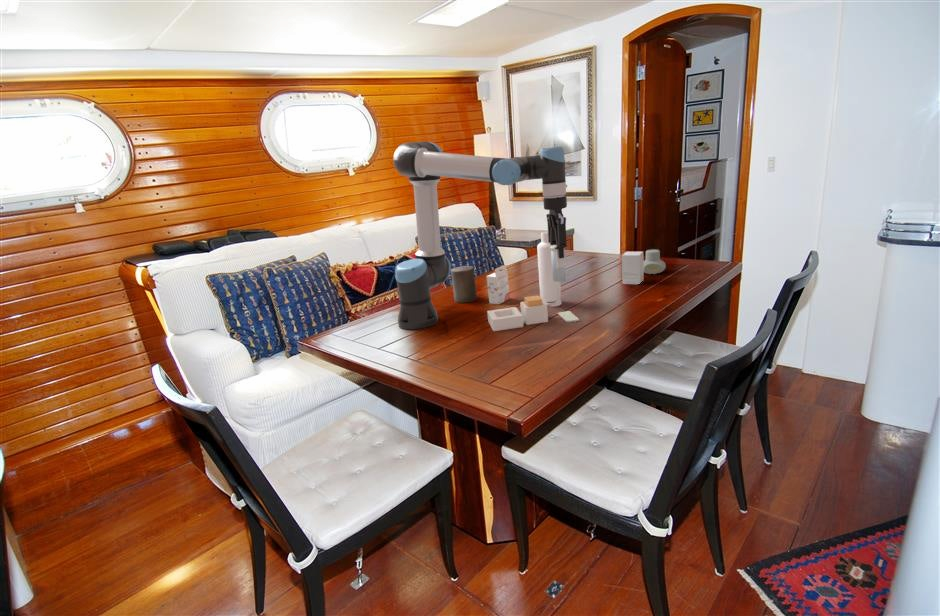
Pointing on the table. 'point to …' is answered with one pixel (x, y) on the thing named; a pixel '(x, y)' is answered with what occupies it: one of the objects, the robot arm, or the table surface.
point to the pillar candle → (464, 284)
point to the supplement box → (632, 267)
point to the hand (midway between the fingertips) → (558, 265)
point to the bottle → (547, 274)
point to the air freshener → (653, 262)
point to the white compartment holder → (517, 316)
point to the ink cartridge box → (498, 286)
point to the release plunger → (533, 301)
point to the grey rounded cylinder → (556, 272)
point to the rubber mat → (568, 316)
